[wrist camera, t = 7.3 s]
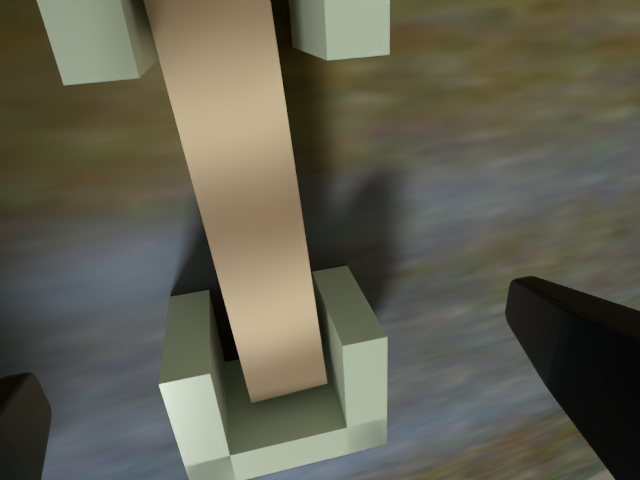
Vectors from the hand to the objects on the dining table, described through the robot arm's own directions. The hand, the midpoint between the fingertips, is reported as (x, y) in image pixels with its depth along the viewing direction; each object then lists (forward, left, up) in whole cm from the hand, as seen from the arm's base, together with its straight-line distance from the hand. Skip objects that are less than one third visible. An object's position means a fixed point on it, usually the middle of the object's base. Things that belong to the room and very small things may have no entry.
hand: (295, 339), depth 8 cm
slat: (0, 0, -10) cm, 10 cm away
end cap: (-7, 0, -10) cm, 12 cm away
